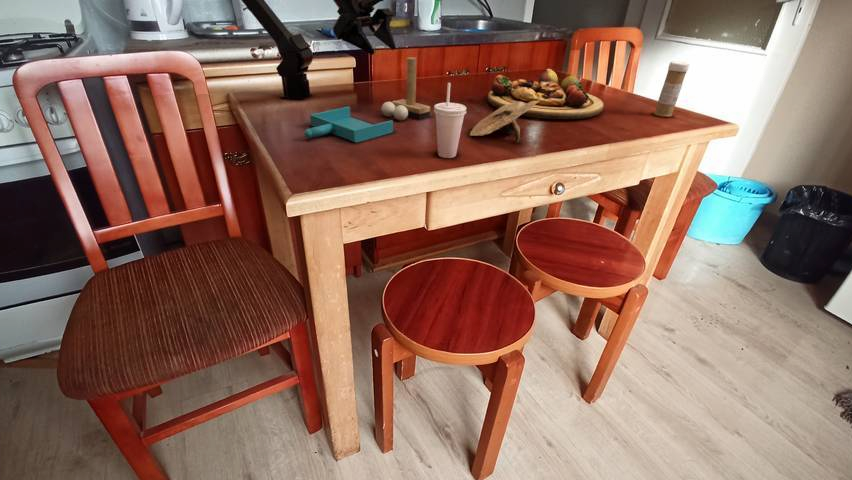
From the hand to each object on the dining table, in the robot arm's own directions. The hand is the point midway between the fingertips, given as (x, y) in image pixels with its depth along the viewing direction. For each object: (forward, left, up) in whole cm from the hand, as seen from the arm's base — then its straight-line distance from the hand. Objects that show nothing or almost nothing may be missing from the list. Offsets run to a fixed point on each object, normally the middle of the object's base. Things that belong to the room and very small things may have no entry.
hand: (384, 51), depth 112 cm
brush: (+8, -2, -14) cm, 16 cm away
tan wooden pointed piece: (+31, -13, -14) cm, 37 cm away
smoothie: (+22, -29, -14) cm, 40 cm away
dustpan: (-4, -23, -14) cm, 27 cm away
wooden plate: (+41, +19, -14) cm, 48 cm away
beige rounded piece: (+3, -6, -14) cm, 16 cm away
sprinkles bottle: (+73, +20, -14) cm, 77 cm away
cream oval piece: (+7, -9, -14) cm, 18 cm away
